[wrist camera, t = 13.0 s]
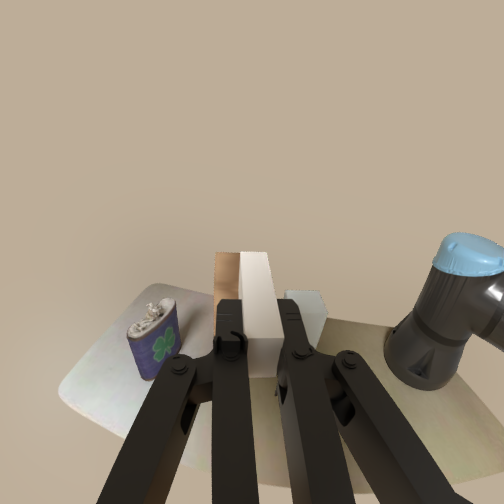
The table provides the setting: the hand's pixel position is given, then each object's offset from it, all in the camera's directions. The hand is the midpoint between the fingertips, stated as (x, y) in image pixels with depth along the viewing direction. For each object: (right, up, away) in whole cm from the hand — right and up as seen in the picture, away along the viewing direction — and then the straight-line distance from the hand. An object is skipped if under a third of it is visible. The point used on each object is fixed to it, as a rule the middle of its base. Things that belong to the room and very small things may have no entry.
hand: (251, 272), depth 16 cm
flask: (-13, -15, +21) cm, 29 cm away
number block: (+6, -14, +25) cm, 30 cm away
